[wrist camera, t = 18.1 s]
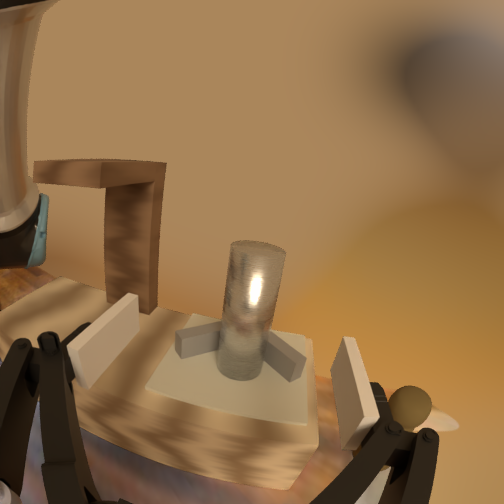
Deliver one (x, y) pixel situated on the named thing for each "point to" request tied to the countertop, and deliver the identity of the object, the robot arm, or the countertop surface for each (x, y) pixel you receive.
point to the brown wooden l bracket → (121, 219)
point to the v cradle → (231, 391)
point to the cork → (407, 409)
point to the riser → (158, 406)
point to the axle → (248, 307)
